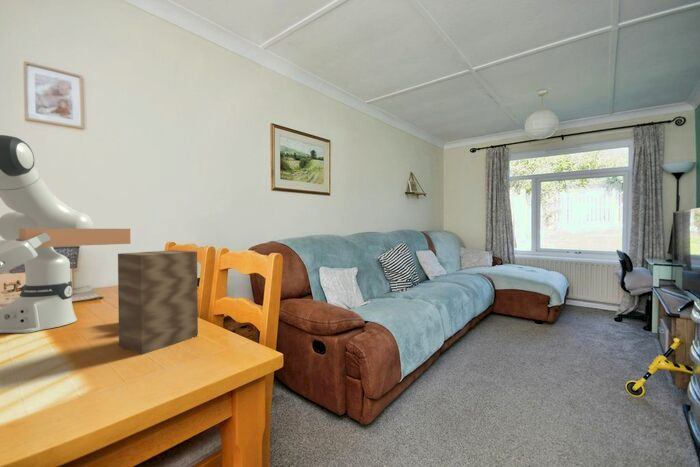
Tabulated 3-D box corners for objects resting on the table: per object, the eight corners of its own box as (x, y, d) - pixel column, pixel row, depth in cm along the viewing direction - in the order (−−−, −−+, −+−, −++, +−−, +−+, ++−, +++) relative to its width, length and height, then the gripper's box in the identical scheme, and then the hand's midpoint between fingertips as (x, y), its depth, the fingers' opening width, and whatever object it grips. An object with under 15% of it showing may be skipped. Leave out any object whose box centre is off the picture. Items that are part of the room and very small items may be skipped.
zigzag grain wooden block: (142, 354, 83) (140, 255, 82) (118, 345, 89) (117, 253, 88) (197, 336, 97) (197, 251, 96) (174, 329, 103) (173, 250, 102)
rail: (25, 247, 66) (25, 228, 66) (19, 247, 68) (18, 228, 68) (130, 243, 84) (130, 228, 84) (122, 243, 86) (122, 228, 86)
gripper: (-42, 262, 53) (51, 222, 63) (-68, 257, 63) (16, 223, 74) (-13, 291, 56) (71, 249, 66) (-42, 281, 66) (35, 246, 76)
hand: (42, 235), depth 70 cm, fingers closed on rail, 4 cm apart
